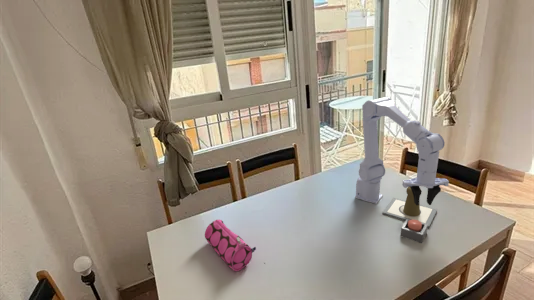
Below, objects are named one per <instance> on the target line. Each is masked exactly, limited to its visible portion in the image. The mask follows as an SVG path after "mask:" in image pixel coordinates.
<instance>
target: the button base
mask: <svg viewBox="0 0 534 300" xmlns="http://www.w3.org/2000/svg"><path fill="white" fill-rule="evenodd" d="M409 220H412V219H408V218H407V219H406V221H404V222H403V224H402V227H401V228H400V235H399V236H400V237H402V238H404V239H408V240H411V241H414V242H417V243H420V244H422V243H423V242H424V239H425V237H426V235H427V233H428V229H429V228H428V224H425V223H422V222H421V223H422V228H421V232H417V231H414V230H410V229H408V221H409Z"/></svg>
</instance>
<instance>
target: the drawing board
mask: <svg viewBox="0 0 534 300" xmlns="http://www.w3.org/2000/svg"><path fill="white" fill-rule="evenodd" d="M405 202H406V200H404V199H399V198H396V197H392V199H391V200H390V201H389V202H388V204H387V205H386V207H385V208H384V209H383V211H382V212H381V213H382V215H384V216H388V217H391V218H395V219H397V220H400V221H404V222H405V221H406V219H407V218H408V219H412V220H418V221H420V222H422V223H425V224H428V228H427V229H430V226H431V225H432V222H433V221H434V219H435V216H436V215H437V212H438V208H435V207H430V206H427V205H422V204H420V215H418V216H409V215H406V214H405V213H404V212H403V209H404V205H405Z"/></svg>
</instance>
